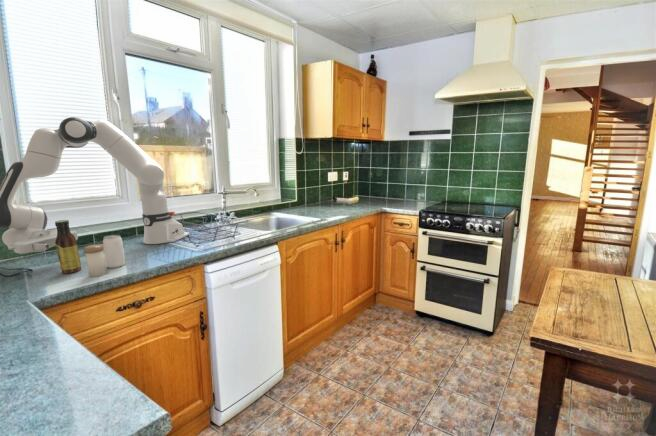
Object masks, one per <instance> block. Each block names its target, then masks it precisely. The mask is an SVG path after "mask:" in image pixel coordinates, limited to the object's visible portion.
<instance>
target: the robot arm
mask: <svg viewBox="0 0 656 436" xmlns="http://www.w3.org/2000/svg"><path fill="white" fill-rule="evenodd" d="M89 142H90V143H91V142H92V143H95V144H96V145H98V146H100V147H101V148H102V149H103V150H104V151H106V152H107V153H108V154H109V155H110V156H111V157H112V158H114V160H116V161H117V162H118V163H119V164H120V165H122V166H123V167H124V168H125V169H126V170H127V171H128V172H129V173H131V174H132V175H133V176H134V177H135V178H136V179H137V182H138V189H139V194H140V202H141V208H142V222H143V225H144V226H143V227H144V229H143V231H144V232H143V233H144V234H143V242H142V243H143V244H145V245H157V244H165V243H174V242H177V241H178V240H181V239H183V238H185V237H187V236H189V235H190V233H189V232H188V231H185V230H184V226H183V224H182V223H180V222H179V221H177V220H176V219H174V218H172V216H175V213H176V212H175V211H173V210H172V211H171V210H170V211H169V210H168V202H167V195H166V189H165V183H164V179H165V171H164V169H163V167H162V166H161V165H160V164H159V163H157V161H155V160H154V159H153V158H152V157H151V156H149V154H148V153H147V152H145V151H144V150H143V149H141V147H139V146H138V145H137V144H136V143H135V142H134V141H133V140H132V139H131V138H130V137H128V136H127V135H126V134H125V133H124V132H123V131H122V130H120V129H119V128H118V127H116V126H115V125H114V124H112V123H111V122H110V121H107V120H106V119H99V120H95V121H93V122H92V121H89V120H85V119H82V118H79V117H73V116H72V117H71V116H70V117H67V118H64V119H63V120H62V121H61V122H60V123H59V125H58V128H57V129H50V128H38V129H35V131H34V132H33V133H32V135H31V137H30V140H29V142H28V145H27V148H26V151H25V154H24V156H23V157H22V158H21V159H20V160H19V161H17V162H16V161H15V162H14V163H12V164H11V166H10V167H9V168H8V170H7V172H6V173H5V175H4V177H3V179H2V181H1V183H0V229H7V230H5V231H4V232H3V233H2V235H1V236H2V237H1V240H2V243H3V244H4V245H6V246H7V250H10V251H13V252H14V253H16V254H18V255H25V254H26V255H27V254H29V253H33V252H34V253H41V252H44V251H46V250H48V249H50V248H53V247H56V244H55V242H56V238H57V227H54V228H46V227H47V225H48V216H47V213H46V212H45V210H44V209H43V208H42V207H39V206H33V205H25V204H17V203H12V202H13V199H14V197H15V195H16V193H17V191H18V189H19V186H20V185H21V183H23V182H24V181H26V180H29V179H36V178H38V179H39V178H45V177H49V176H51V175H53V174H54V173H56V172H57V171H58V169H59V167H60V163H61V160H62V155H63V151H64V149H66V148H68V149H69V148H71V149H72V148H73V149H78V148H83V147H85V146H87V144H89ZM70 232H71V233H72V234H73V235H74V237H75V239H76V241H78V239H79V236H78V233H77V231H76V230H71V229H70Z"/></svg>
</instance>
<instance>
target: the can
mask: <svg viewBox="0 0 656 436" xmlns="http://www.w3.org/2000/svg"><path fill="white" fill-rule="evenodd" d="M102 238H103V240H102V245H103V247H104V250H103V251H104V257H105V263H106V268H109V269H116V267H117V268H120V266H121V267H123V266H124V265H126V257H125V249H124V244H123V243H124V242H123V238H122V237H121V235H120V234H110V235H106V236H103V237H102Z"/></svg>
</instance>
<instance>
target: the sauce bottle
mask: <svg viewBox="0 0 656 436" xmlns="http://www.w3.org/2000/svg"><path fill="white" fill-rule="evenodd" d="M69 221H70V220H69V219H60V220H56V221H55V222H54V225H55V228H57V238H56V242H55V244H56V246H55V249H56V253H57V258H58V263H59V266H60V267H59V268H60V270H61V272H62V273H63V274H72V273H77V272H79V271H81V269H82V266H81V260H80V254H79V249H78V244H77V240H76V239H75V237H74V235H73V234H72V233H71V232H70V230H71V229H70V223H69Z"/></svg>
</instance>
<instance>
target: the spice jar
mask: <svg viewBox="0 0 656 436" xmlns="http://www.w3.org/2000/svg"><path fill="white" fill-rule="evenodd" d="M83 253H84V254H85V261H86V265H87V272H88V276H89V277H90V276H97V277H101V276H100V275H102V276H104V275H106V274H107V273H108V270H107V268H108V267H107V265H106V259H105V253H104V247H103V243H102V244H101V243H99V244H90V245H86V246H84V247H83ZM105 273H106V274H105ZM103 274H104V275H103Z"/></svg>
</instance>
